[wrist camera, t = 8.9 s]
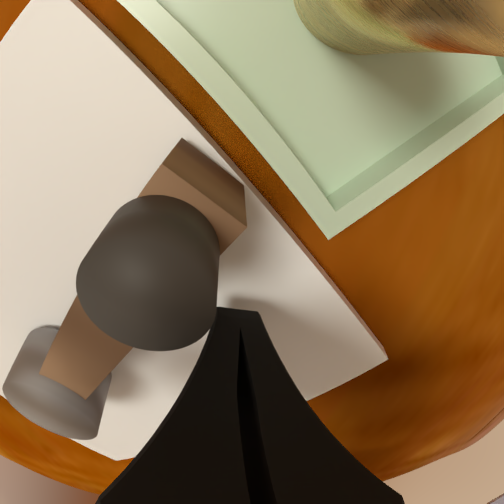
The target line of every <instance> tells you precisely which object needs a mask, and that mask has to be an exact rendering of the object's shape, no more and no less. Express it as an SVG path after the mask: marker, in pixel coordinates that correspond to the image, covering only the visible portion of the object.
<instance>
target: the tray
mask: <svg viewBox="0 0 504 504" xmlns="http://www.w3.org/2000/svg"><path fill="white" fill-rule="evenodd" d="M117 1H118V2H119V3H120V4H121V5H123V6H124V7H125V8H126V9H127V10H128V11H129V12H130V13H131V14H132V15H133V16H134V17H135V18H136V19H137V20H138V21H139V22H140V23H141V24H142V25H143V26H144V27H145V28H147V29H148V30H149V31H150V32H151V33H152V34H153V35H154V36H155V37H156V38H157V39H158V40H159V41H160V42H161V43H162V44H163V45H164V47H165V48H166V49H167V50H168V51H169V52H170V53H171V54H172V55H173V56H174V57H175V58H176V59H177V60H178V61H179V62H180V63H181V64H182V65H183V66H184V67H185V68H186V69H187V70H188V72H189V73H190V74H191V75H192V76H193V77H194V78H195V79H196V80H197V81H198V82H199V83H200V84H201V86H202V87H203V88H204V89H205V90H206V91H207V92H208V93H209V94H210V95H211V97H212V98H213V99H214V100H215V101H216V102H217V103H218V104H219V105H220V107H221V108H222V109H223V110H224V111H225V112H226V113H227V115H228V116H229V117H230V118H231V119H232V120H233V121H234V123H235V124H236V125H237V126H238V127H239V128H240V130H241V131H242V132H243V133H244V134H245V135H246V137H247V138H248V139H249V140H250V141H251V142H252V144H253V145H254V146H255V147H256V148H257V150H258V151H259V152H260V153H261V154H262V156H263V157H264V158H265V159H266V161H267V162H268V163H269V164H270V165H271V167H272V168H273V169H274V170H275V172H276V173H277V174H278V175H279V177H280V178H281V179H282V180H283V182H284V183H285V184H286V185H287V187H288V188H289V189H290V190H291V192H292V193H293V194H294V195H295V197H296V198H297V199H298V201H299V202H300V203H301V204H302V206H303V207H304V208H305V210H306V211H307V212H308V213H309V215H310V216H311V217H312V219H313V220H314V221H315V223H316V224H317V225H318V227H319V228H320V229H321V231H322V232H323V233H324V235H325V236H326V237H327V239H328V240H329V239H330V238H332V237H333V236H335V235H336V234H338V233H339V232H341V231H342V230H344V229H345V228H346V227H348V226H349V225H351V224H352V223H354V222H355V221H357V220H358V219H360V218H361V217H362V216H364V215H365V214H367V213H368V212H370V211H371V210H373V209H374V208H375V207H377V206H378V205H380V204H381V203H383V202H384V201H385V200H387V199H388V198H390V197H391V196H393V195H394V194H395V193H397V192H398V191H400V190H401V189H402V188H404V187H405V186H407V185H408V184H409V183H411V182H412V181H414V180H415V179H416V178H418V177H419V176H421V175H422V174H423V173H425V172H426V171H428V170H429V169H430V168H432V167H433V166H434V165H436V164H437V163H439V162H440V161H441V160H443V159H444V158H445V157H447V156H448V155H449V154H451V153H452V152H454V151H455V150H456V149H458V148H459V147H460V146H462V145H463V144H464V143H466V142H467V141H468V140H470V139H471V138H472V137H474V136H475V135H476V134H478V133H479V132H480V131H482V130H483V129H484V128H485V127H487V126H488V125H489V124H491V123H492V122H493V121H495V120H496V119H497V118H499V117H500V116H501V115H502V114H504V57H500V56H491V55H480V54H467V53H443V52H413V53H388V54H374V55H353V54H348V53H344V52H341V51H338V50H335V49H333V48H331V47H329V46H327V45H326V44H324V43H323V42H321V41H320V40H319V39H317V38H316V37H315V36H314V35H313V34H312V33H311V32H310V31H309V30H308V29H307V28H306V27H305V25H304V24H303V23H302V21H301V20H300V18H299V16H298V14H297V12H296V9H295V6H294V1H293V0H117Z"/></svg>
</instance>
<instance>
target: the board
mask: <svg viewBox="0 0 504 504" xmlns="http://www.w3.org/2000/svg"><path fill="white" fill-rule="evenodd" d="M181 138H183V139H185V140H186V141H187V142H189V143H190V144H191V145H192V146H194V147H195V148H196V149H198V150H199V151H200V152H202V153H203V154H204V155H206V156H207V157H208V158H209V159H211V160H212V161H213V162H215V163H216V164H217V165H218V166H220V167H221V168H222V169H224V170H225V171H226V172H227V173H229V174H230V175H231V176H232V177H234V178H235V179H236V180H238V181H239V182H240V183H241V184H243V185H244V193H245V205H246V218H247V228H246V229H245V230H244V231H243V232H242V233H241V234H240V235H239V236H238V238H237V239H236V240H235V241H234V242H233V243H232V244H231V245H230V246H229V247H228V248H227V249H226V250H225V251H224V252H223V253H222V254H221V255H220V258H219V274H218V291H217V307H226V308H234V309H242V310H250V311H258V313H259V314H260V315H261V318H262V321H263V323H264V325H265V328H266V330H267V332H268V334H269V337H270V339H271V341H272V343H273V345H274V347H275V349H276V351H277V353H278V355H279V357H280V359H281V361H282V362H283V364H284V366H285V368H286V370H287V371H288V373H289V375H290V377H291V378H292V380H293V382H294V383H295V385H296V386H297V388H298V389H299V391H300V393H301V394H302V396H303V397H304V399H305V400H306V401H308V400H310V399H312V398H314V397H317V396H319V395H321V394H323V393H325V392H327V391H329V390H331V389H333V388H335V387H337V386H339V385H341V384H343V383H345V382H347V381H349V380H351V379H353V378H355V377H357V376H359V375H361V374H363V373H365V372H366V371H368V370H370V369H372V368H374V367H376V366H377V365H379V364H381V363H383V362H384V361H386V360H388V357H387V355H386V352H385V350H384V348H383V346H382V344H381V343H380V342H379V340H378V339H377V338H376V336H375V335H374V334H373V332H372V331H371V330H370V328H369V327H368V326H367V325H366V323H365V322H364V321H363V319H362V318H361V317H360V315H359V314H358V313H357V311H356V310H355V309H354V308H353V306H352V305H351V304H350V302H349V301H348V300H347V299H346V297H345V296H344V295H343V293H342V292H341V291H340V290H339V288H338V287H337V286H336V285H335V283H334V282H333V281H332V279H331V278H330V277H329V276H328V274H327V273H326V272H325V271H324V269H323V268H322V267H321V266H320V264H319V263H318V262H317V261H316V259H315V258H314V257H313V256H312V255H311V253H310V252H309V251H308V250H307V248H306V247H305V246H304V245H303V243H302V242H301V241H300V240H299V239H298V237H297V236H296V235H295V234H294V233H293V231H292V230H291V229H290V228H289V226H288V225H287V224H286V223H285V222H284V220H283V219H282V218H281V217H280V216H279V215H278V213H277V212H276V211H275V210H274V209H273V207H272V206H271V205H270V204H269V203H268V201H267V200H266V199H265V198H264V197H263V196H262V194H261V193H260V192H259V191H258V190H257V189H256V187H255V186H254V185H253V184H252V183H251V182H250V180H249V179H248V178H247V177H246V176H245V175H244V174H243V172H242V171H241V170H240V169H239V168H238V167H237V166H236V164H235V163H234V162H233V161H232V160H231V159H230V158H229V156H228V155H227V154H226V153H225V152H224V151H223V150H222V149H221V147H220V146H219V145H218V144H217V143H216V142H215V141H214V140H213V138H212V137H211V136H210V135H209V134H208V133H207V132H206V131H205V130H204V129H203V127H202V126H201V125H200V124H199V123H198V122H197V121H196V120H195V119H194V118H193V116H192V115H191V114H190V113H189V112H188V111H187V110H186V109H185V108H184V107H183V106H182V105H181V104H180V102H179V101H178V100H177V99H176V98H175V97H174V96H173V95H172V94H171V93H170V92H169V91H168V90H167V89H166V88H165V86H164V85H163V84H162V83H161V82H160V81H159V80H158V79H157V78H156V77H155V76H154V75H153V74H152V73H151V72H150V71H149V70H148V69H147V68H146V67H145V66H144V65H143V64H142V63H141V62H140V61H139V60H138V58H137V57H136V56H135V55H134V54H133V53H132V52H131V51H130V50H129V49H128V48H127V47H126V46H125V45H124V44H123V43H122V42H121V41H120V40H119V39H118V38H117V37H116V36H115V35H114V34H113V33H112V32H111V31H110V30H109V29H107V28H106V27H105V26H104V25H103V24H102V23H101V22H100V21H99V20H98V19H97V18H96V17H95V16H94V15H93V14H92V13H91V12H90V11H89V10H88V9H87V8H86V7H85V6H84V5H82V4H81V3H80V2H79V1H78V0H31V1H30V2H29V4H28V5H27V6H26V7H25V9H24V10H23V11H22V13H21V14H20V15H19V16H18V18H17V19H16V21H15V22H14V23H13V25H12V26H11V27H10V29H9V30H8V32H7V33H6V35H5V36H4V38H3V39H2V41H1V42H0V395H2V396H3V397H4V398H6V397H5V395H4V393H3V390H2V387H3V384H4V382H5V380H6V378H7V375H8V373H9V371H10V369H11V367H12V365H13V363H14V361H15V359H16V357H17V355H18V353H19V351H20V349H21V347H22V345H23V343H24V341H25V339H26V338H27V336H28V334H29V333H30V332H31V331H32V330H34V329H36V328H53V329H57V330H59V328H60V326H61V324H62V322H63V320H64V318H65V317H66V315H67V313H68V311H69V309H70V307H71V305H72V303H73V301H74V299H75V298H76V296H77V291H76V275H77V271H78V268H79V266H80V263H81V262H82V260H83V259H84V257H85V256H86V254H87V253H88V251H89V249H90V248H91V247H92V245H93V244H94V242H95V241H96V239H97V238H98V236H99V235H100V233H101V232H102V230H103V229H104V228H105V226H106V225H107V223H108V222H109V221H110V219H111V218H112V216H113V215H114V214H115V212H116V211H117V210H118V209H119V208H120V207H121V206H123V205H124V204H126V203H127V202H129V201H131V200H133V199H135V198H137V197H138V195H139V194H140V193H141V191H142V190H143V188H144V187H145V186H146V184H147V183H148V181H149V180H150V179H151V177H152V176H153V174H154V173H155V172H156V170H157V169H158V168H159V166H160V165H161V164H162V162H163V161H164V160H165V158H166V157H167V156H168V154H169V153H170V152H171V151H172V149H173V148H174V147H175V146H176V144H177V143H178V142H179V140H180V139H181ZM209 330H210V329H209ZM208 333H209V331H208V332H207V333H206V334H205V335H204V336H203V337H202V338H201V339H200V340H198V341H197V342H195V343H193V344H191V345H189V346H187V347H184V348H181V349H177V350H171V351H148V350H142V349H138V348H134V347H133V348H132V349H131V351H130V352H129V353H128V354H127V355H126V356H125V357H124V358H123V359H122V360H121V361H120V363H119V364H118V365H117V366H116V367H115V368H114V369H113V370H112V371H111V373H112V379H111V383H110V387H109V390H108V394H107V398H106V402H105V406H104V410H103V414H102V418H101V422H100V426H99V430H98V435H97V436H96V437H95V438H94V439H90V440H78V439H72V438H70V439H72V440H74V441H76V442H78V443H80V444H82V445H84V446H86V447H88V448H90V449H92V450H94V451H96V452H98V453H100V454H102V455H105V456H107V457H109V458H111V459H114V460H116V461H117V460H123V459H128V458H133V457H136V455H137V454H138V453H139V452H140V450H141V449H142V448H143V447H144V446H145V444H146V443H147V442H148V441H149V439H150V438H151V437H152V435H153V434H154V432H155V431H156V430H157V428H158V427H159V425H160V424H161V422H162V421H163V420H164V418H165V417H166V415H167V414H168V412H169V411H170V409H171V408H172V406H173V404H174V403H175V401H176V400H177V398H178V396H179V394H180V393H181V391H182V389H183V388H184V386H185V384H186V382H187V380H188V378H189V376H190V374H191V372H192V370H193V368H194V366H195V365H196V362H197V360H198V358H199V356H200V353H201V351H202V349H203V346H204V344H205V342H206V339H207V336H208ZM6 399H7V398H6Z"/></svg>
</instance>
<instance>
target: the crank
mask: <svg viewBox="0 0 504 504" xmlns="http://www.w3.org/2000/svg"><path fill="white" fill-rule="evenodd" d="M246 228H247V218H246V205H245V193H244V185H243V184H241V183H240V182H239V181H238V180H236V179H235V178H234V177H232V176H231V175H230V174H229V173H227V172H226V171H225V170H224V169H222V168H221V167H220V166H218V165H217V164H216V163H215V162H213V161H212V160H211V159H209V158H208V157H207V156H206V155H204V154H203V153H202V152H200V151H199V150H198V149H196V148H195V147H194V146H192V145H191V144H190V143H189V142H187V141H186V140H185V139H183V138H181V139H180V140H179V142H178V143H177V144H176V146H175V147H174V148H173V149H172V151H171V152H170V153H169V154H168V156H167V157H166V158H165V160H164V161H163V162H162V164H161V165H160V166H159V168H158V169H157V170H156V172H155V173H154V174H153V176H152V177H151V179H150V180H149V181H148V183H147V184H146V186H145V187H144V188H143V190H142V191H141V193H140V194H139V195H138V197H137V198H135V199H133V200H131V201H129V202H127V203H126V204H124V205H123V206H121V207H120V208H119V209H118V210H117V211H116V212H115V214H114V215H113V216H112V218H111V219H110V221H109V222H108V223H107V225H106V226H105V228H104V229H103V230H102V232H101V233H100V235H99V236H98V238H97V239H96V241H95V242H94V244H93V245H92V247H91V248H90V249H89V251H88V253H87V254H86V256H85V257H84V259H83V260H82V262H81V263H80V266H79V268H78V271H77V275H76V291H77V296H76V298H75V299H74V301H73V303H72V305H71V307H70V309H69V311H68V313H67V315H66V317H65V318H64V320H63V322H62V324H61V326H60V328H59V330H57V329H53V328H36V329H34V330H32V331H31V332H30V333H29V334H28V336H27V338H26V339H25V341H24V343H23V345H22V347H21V349H20V351H19V353H18V355H17V357H16V359H15V361H14V363H13V365H12V367H11V369H10V371H9V373H8V375H7V378H6V380H5V382H4V384H3V387H2V390H3V393H4V395H5V397H6V398H7V400H8V401H9V402H10V404H11V405H12V406H13V407H14V408H15V409H16V410H17V411H19V412H20V413H21V414H22V415H24V416H25V417H26V418H28V419H29V420H31V421H32V422H34V423H35V424H37V425H39V426H41V427H43V428H44V429H46V430H49V431H51V432H53V433H56V434H58V435H61V436H64V437H68V438H72V439H78V440H90V439H94V438H95V437H96V436H97V435H98V430H99V426H100V422H101V418H102V414H103V410H104V406H105V402H106V398H107V394H108V390H109V387H110V383H111V379H112V373H111V371H112V370H113V369H114V368H115V367H116V366H117V365H118V364H119V363H120V361H121V360H122V359H123V358H124V357H125V356H126V355H127V354H128V353H129V352H130V351H131V349H132V348H133V347H134V348H138V349H142V350H148V351H171V350H177V349H181V348H184V347H187V346H189V345H191V344H193V343H195V342H197V341H198V340H200V339H201V338H202V337H203V336H204V335H205V334H206V333H207V332H208V331H209V329H210V328H211V326H212V324H213V322H214V320H215V316H216V309H217V291H218V274H219V258H220V255H221V254H222V253H223V252H224V251H225V250H226V249H227V248H228V247H229V246H230V245H231V244H232V243H233V242H234V241H235V240H236V239H237V238H238V236H239V235H240V234H241V233H242V232H243V231H244V230H245V229H246Z"/></svg>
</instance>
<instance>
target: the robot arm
mask: <svg viewBox="0 0 504 504" xmlns="http://www.w3.org/2000/svg"><path fill="white" fill-rule="evenodd" d="M95 504H404V500H403V497H402V495H400V494H399V493H397V492H396V491H394V490H393V489H392V488H390V487H389V486H387V485H386V484H385V483H383V482H382V481H381V480H380V479H378V478H377V477H376V476H375V475H373V474H372V473H371V472H370V471H369V470H368V469H367V468H365V467H364V466H363V465H362V464H361V463H360V462H359V461H358V460H356V459H355V458H354V457H353V455H352V454H351V453H350V452H349V451H348V450H347V449H346V448H345V447H344V446H343V445H342V444H341V443H340V442H339V441H338V440H337V439H336V438H335V437H334V436H333V435H332V434H331V432H330V431H329V430H328V429H327V428H326V426H325V425H324V424H323V423H322V422H321V420H320V419H319V418H318V416H317V415H316V414H315V413H314V411H313V410H312V409H311V407H310V406H309V404H308V403H307V402H306V400H305V399H304V397H303V396H302V394H301V393H300V391H299V389H298V388H297V386H296V385H295V383H294V382H293V380H292V378H291V377H290V375H289V373H288V371H287V370H286V368H285V366H284V364H283V362H282V361H281V359H280V357H279V355H278V353H277V351H276V349H275V347H274V345H273V343H272V341H271V339H270V337H269V334H268V332H267V330H266V328H265V325H264V323H263V321H262V318H261V315H260V314H259V313H258V311H250V310H242V309H234V308H226V307H217V309H216V316H215V320H214V322H213V324H212V326H211V328H210V330H209V333H208V336H207V339H206V342H205V344H204V346H203V349H202V351H201V353H200V356H199V358H198V360H197V362H196V365H195V366H194V368H193V370H192V372H191V374H190V376H189V378H188V380H187V382H186V384H185V386H184V388H183V389H182V391H181V393H180V394H179V396H178V398H177V400H176V401H175V403H174V404H173V406H172V408H171V409H170V411H169V412H168V414H167V415H166V417H165V418H164V420H163V421H162V422H161V424H160V425H159V427H158V428H157V430H156V431H155V432H154V434H153V435H152V437H151V438H150V439H149V441H148V442H147V443H146V444H145V446H144V447H143V448H142V449H141V450H140V452H139V453H138V454H137V455H136V457H135V458H134V459H133V460H132V461H131V463H130V464H129V465H128V466H127V467H126V469H125V470H124V471H123V472H122V473H121V474H120V475H119V476H118V477H117V478H116V479H115V480H114V481H113V482H112V483H111V484H110V485H109V487H108V488H107V489H106V490H105V491H104V492H103V493H102V494H101V495H100V496H99V498H98V500H97V502H96V503H95ZM487 504H504V494H502V495H500V496H499V497H497V498H495V499H494V500H492V501H490V502H488V503H487Z"/></svg>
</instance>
